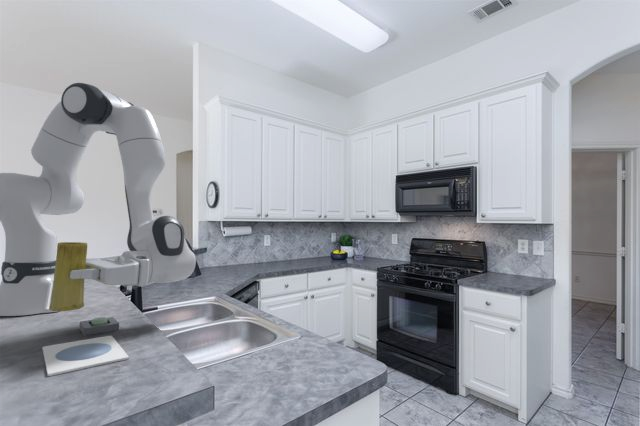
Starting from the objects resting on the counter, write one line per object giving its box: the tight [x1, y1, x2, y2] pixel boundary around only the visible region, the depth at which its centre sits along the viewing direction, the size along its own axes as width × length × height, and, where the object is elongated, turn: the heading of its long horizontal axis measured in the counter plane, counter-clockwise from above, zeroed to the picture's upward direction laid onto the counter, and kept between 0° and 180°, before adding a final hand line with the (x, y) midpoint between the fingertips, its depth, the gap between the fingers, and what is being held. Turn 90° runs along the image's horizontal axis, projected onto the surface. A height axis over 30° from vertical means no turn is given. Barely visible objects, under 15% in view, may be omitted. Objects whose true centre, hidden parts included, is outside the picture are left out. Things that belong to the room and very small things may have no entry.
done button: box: [91, 316, 109, 326], centre depth 79 cm, size 3×3×1 cm
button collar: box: [79, 316, 120, 336], centre depth 79 cm, size 7×7×2 cm
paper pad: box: [41, 335, 130, 377], centre depth 64 cm, size 16×12×1 cm
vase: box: [49, 241, 88, 312], centre depth 71 cm, size 6×6×14 cm
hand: (64, 272), depth 70 cm, fingers closed on vase, 5 cm apart
